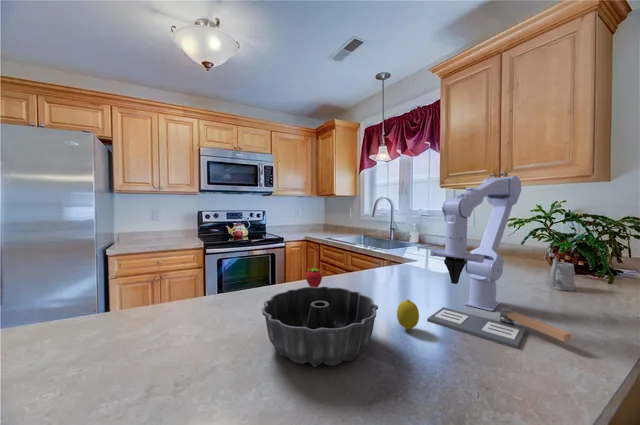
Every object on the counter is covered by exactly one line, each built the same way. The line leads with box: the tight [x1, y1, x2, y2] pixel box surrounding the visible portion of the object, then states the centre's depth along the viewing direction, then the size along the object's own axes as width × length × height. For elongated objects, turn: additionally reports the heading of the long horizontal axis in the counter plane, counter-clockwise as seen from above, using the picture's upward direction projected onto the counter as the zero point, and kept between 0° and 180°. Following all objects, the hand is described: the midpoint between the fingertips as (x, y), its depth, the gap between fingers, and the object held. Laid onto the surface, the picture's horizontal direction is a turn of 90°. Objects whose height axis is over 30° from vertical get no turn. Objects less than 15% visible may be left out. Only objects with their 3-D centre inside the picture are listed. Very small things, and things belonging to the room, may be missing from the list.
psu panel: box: [426, 307, 527, 350], centre depth 76 cm, size 12×21×1 cm, turn 46°
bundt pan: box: [261, 285, 379, 368], centre depth 65 cm, size 26×26×10 cm
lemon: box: [396, 299, 420, 331], centre depth 73 cm, size 6×6×8 cm
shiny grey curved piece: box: [499, 315, 515, 326], centre depth 78 cm, size 3×3×2 cm
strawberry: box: [305, 264, 323, 287], centre depth 105 cm, size 6×8×10 cm
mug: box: [549, 258, 576, 292], centre depth 111 cm, size 8×12×12 cm, turn 114°
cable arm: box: [499, 307, 572, 342], centre depth 71 cm, size 16×3×2 cm, turn 18°
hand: (454, 282), depth 84 cm, fingers closed
